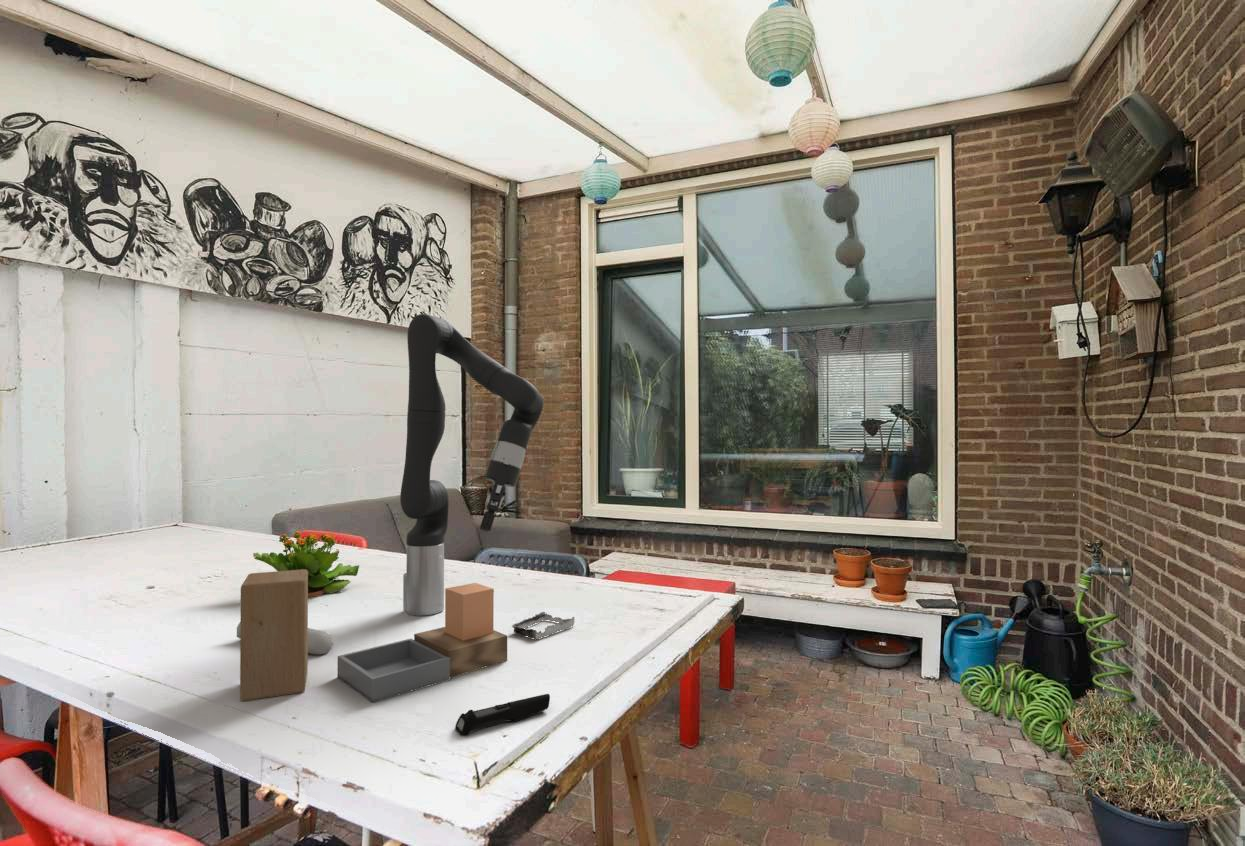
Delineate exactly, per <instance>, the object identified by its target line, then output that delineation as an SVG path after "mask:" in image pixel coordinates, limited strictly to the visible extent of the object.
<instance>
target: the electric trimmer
mask: <svg viewBox="0 0 1245 846" xmlns="http://www.w3.org/2000/svg"><path fill="white" fill-rule="evenodd" d="M550 699H551V695H550V693H545V694H544V693H543V694H540V695H536V696H531V697H527V698H523V699H518V700H513V701H508V702H505V703H501V704H496V705H494V706H490V707H486V708H482V709H477V710H473V709H469V710H468V711H467V712H465V713H461V714H460V716H459V717H458V718H457V721H456V723H455V726H454V729H455V731H457V733H458V734H459V736H469V735H470V733H471V732H474V731H477V730H481V729H485V728H488V727H492V726H494V725H499V724H501V723H505V722H513V721H515V722H517V721H520V720H523V719H526V718H528V717H531V716H533V715H536V714H538V713H541V712H544V711H546V710H548V708H549V707H550Z"/></svg>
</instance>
